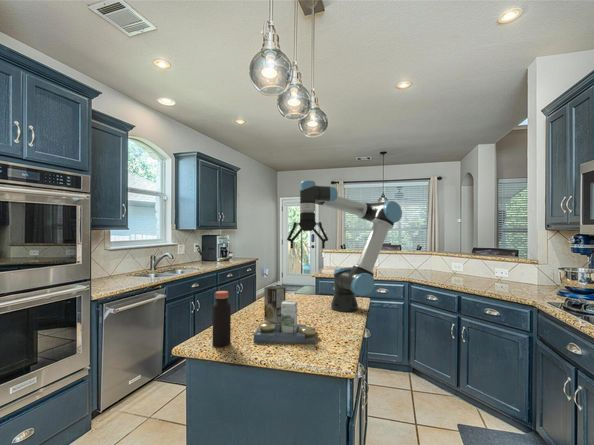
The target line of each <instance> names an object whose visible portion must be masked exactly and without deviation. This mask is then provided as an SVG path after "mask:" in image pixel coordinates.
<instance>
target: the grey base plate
mask: <svg viewBox="0 0 594 445" xmlns="http://www.w3.org/2000/svg"><path fill="white" fill-rule="evenodd" d="M316 330H317V329H316V328H315V327H313V326H308V325H306V326H304V327H300V328H298V331H300V332H303V333H305V340H279V339H269V343H268V344H284V345H286V344H289V345H290V344H291V345H292V344H293V345H294V344H295V345H316ZM298 331H297V333H298ZM279 333H281V330H280V332H279Z"/></svg>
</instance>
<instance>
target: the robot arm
mask: <svg viewBox="0 0 594 445" xmlns="http://www.w3.org/2000/svg"><path fill="white" fill-rule="evenodd" d="M316 205H318V206H322V207H325V208H329V209H333V210H336V211H340V212H343V213H346V214H347V213H348V214H351V215H354V216H357V218H359V219H362V220H365V221H368V222H370V223H371V222H372V224H373V225H372V227H371V229H370V232H369V234H368V237H367V239H366V242H365V244H364V247H363V249H362V252H361V254H360V255H359V259H358V261H357V263H356V264H353V266H352V267H338V268H337V267H336V268H334V270H333V297H332V300H331V303H330V308H331V310H333V311H336V312H341V313H342V312H347V313H350V312H356V311H358V310H359V303H358V300H357V298H356V296H367V295H369V294H370V293H371V292H372V291H373V290H374V287H375V278H374V275H375V273H374V267H375V266H376V263H377V259H378V258H379V255H380V253H381V250H382V248H383V245H384V244H385V240H386V237H387V235H388V232H389V231H390V230H392V229H393V227H394V226H395V223H398V222H400V220H401V219H402V216H403V210H402V207H401V205H400V204H399V203H398V202H396V201H394V200H386V201H380V202H371V203H370V202H365V201H362V202H359V201H356V200H352V199H348V198H346V197H343V196H339V195H338V189H337V187H335V186H330V185H329V186H326V185H317V184H316V181H314V180H302V181H300V183H299V211H300V213H299V222H296V221H294V222H293V224H292V225H293V226H292V228H291V230H290V232H289V234H288V236H287V239H286V241H288V242H290V249H291V250H292V256H295V255H296V252H295V251H296V242H295V240H296V238H298V236H299V235H300V234H301V233H302V231H304V232H314V233H315V234H316V236H317V237H318V238H319V240H321V241H320V256H323V249H325V244H326V243H325V242H327V241H329V238H328V235H327V234H326V231H325V230H324V228H323V224H322V222H321V221H319V222H316V213H315V212H316ZM298 226H299V228H300V229H298V231H297V232H295V230H296V228H297V227H298ZM316 226H317V227H318V228H319V229H320V231H321V233H322V235H323V237H322V236H321V235H320V233H319V232H318V231H317V230H316V229H315V227H316ZM294 232H295V233H296V234H294ZM293 234H294V235H293ZM292 236H293V237H292Z"/></svg>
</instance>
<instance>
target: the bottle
mask: <svg viewBox="0 0 594 445" xmlns="http://www.w3.org/2000/svg"><path fill="white" fill-rule="evenodd" d="M214 294H215V303H213V304H212V346H213V347H215V348H224V347H228V346H230V345H231V340H232V339H231V336H232V334H231V333H232V332H231V331H232V330H231V329H232V328H231V326H232V325H231V322H232V321H231V320H232V319H231V318H232V314H231V310H232V305H231V303H230V301H228V299H229V290H228V291H227V290H219V291H218V290H217V291H215V293H214Z"/></svg>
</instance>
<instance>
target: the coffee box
mask: <svg viewBox="0 0 594 445" xmlns="http://www.w3.org/2000/svg"><path fill="white" fill-rule="evenodd" d="M263 292H264V293H263V296H264V298H263V300H264V302H263V304H264V314H263V315H264V316H263V317H264V319H263V320H264V321H266V322H273V323H275V324H280V323H281V303H282V302H283V301H286V287H283V286H278V285H271V286H265V287H263Z"/></svg>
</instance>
